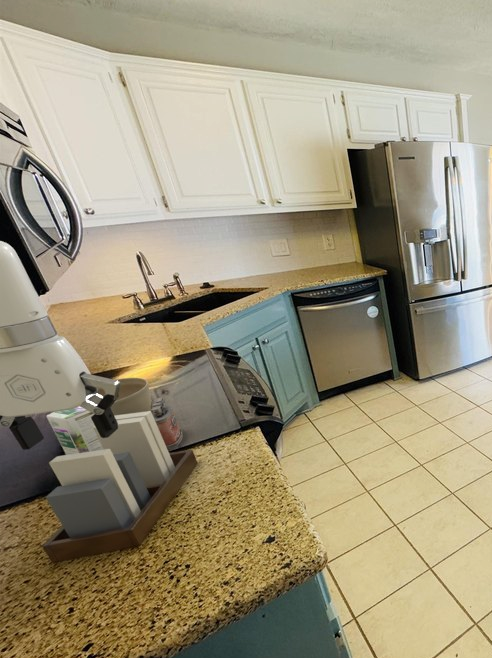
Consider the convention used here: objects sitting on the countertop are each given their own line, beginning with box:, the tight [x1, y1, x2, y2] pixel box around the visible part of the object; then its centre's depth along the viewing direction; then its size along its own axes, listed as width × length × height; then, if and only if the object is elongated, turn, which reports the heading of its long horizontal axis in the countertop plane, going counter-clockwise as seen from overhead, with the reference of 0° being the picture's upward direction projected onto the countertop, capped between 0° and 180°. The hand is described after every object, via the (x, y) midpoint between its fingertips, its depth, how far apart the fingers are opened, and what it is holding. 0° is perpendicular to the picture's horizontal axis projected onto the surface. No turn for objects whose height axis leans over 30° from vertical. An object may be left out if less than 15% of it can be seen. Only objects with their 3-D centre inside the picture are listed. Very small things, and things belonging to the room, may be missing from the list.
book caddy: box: [41, 449, 199, 564], centre depth 74 cm, size 12×23×4 cm, turn 16°
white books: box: [93, 410, 175, 487], centre depth 78 cm, size 7×4×15 cm, turn 106°
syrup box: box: [46, 406, 104, 455], centre depth 82 cm, size 6×6×14 cm
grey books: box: [45, 452, 151, 538], centre depth 68 cm, size 7×9×12 cm
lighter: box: [151, 397, 184, 450], centre depth 93 cm, size 8×3×10 cm, turn 30°
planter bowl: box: [89, 377, 152, 416], centre depth 96 cm, size 16×16×11 cm
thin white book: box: [48, 449, 141, 521], centre depth 67 cm, size 7×2×15 cm, turn 106°
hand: (73, 438), depth 63 cm, fingers open, 9 cm apart
